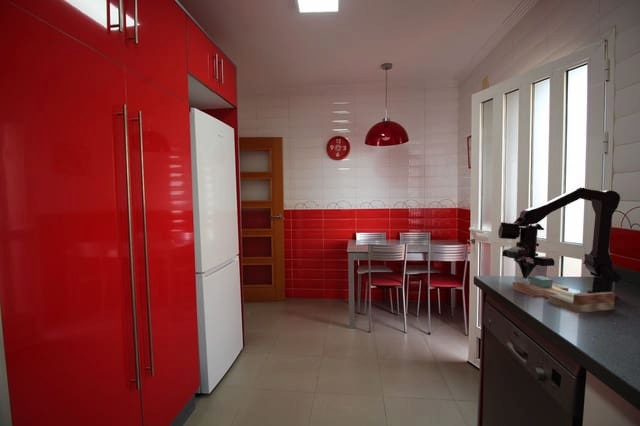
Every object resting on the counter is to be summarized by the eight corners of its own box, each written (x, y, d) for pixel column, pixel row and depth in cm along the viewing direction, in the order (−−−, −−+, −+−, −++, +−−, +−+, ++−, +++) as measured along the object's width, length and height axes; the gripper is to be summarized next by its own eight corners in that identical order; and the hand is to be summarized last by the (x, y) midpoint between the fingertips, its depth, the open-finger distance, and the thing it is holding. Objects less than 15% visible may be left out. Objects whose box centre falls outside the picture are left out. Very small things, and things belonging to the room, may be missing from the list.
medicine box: (546, 281, 130) (548, 262, 130) (534, 280, 131) (536, 261, 131) (537, 276, 138) (538, 258, 137) (526, 275, 139) (527, 257, 138)
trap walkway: (543, 286, 123) (544, 273, 123) (613, 309, 100) (615, 293, 99) (512, 288, 119) (513, 275, 119) (577, 312, 96) (578, 296, 96)
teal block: (539, 283, 119) (540, 275, 119) (552, 287, 114) (552, 279, 114) (529, 283, 118) (530, 276, 118) (541, 287, 113) (542, 280, 113)
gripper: (493, 236, 128) (490, 272, 130) (533, 244, 110) (530, 286, 112) (514, 236, 131) (511, 271, 132) (557, 244, 113) (553, 284, 114)
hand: (525, 277), depth 123 cm, fingers closed
